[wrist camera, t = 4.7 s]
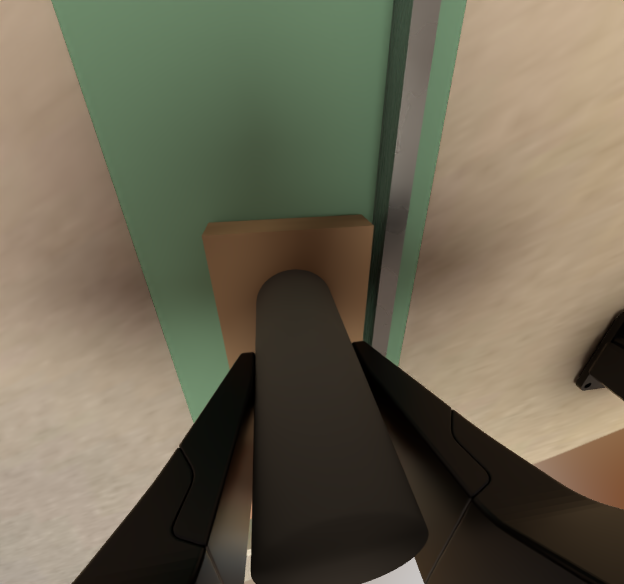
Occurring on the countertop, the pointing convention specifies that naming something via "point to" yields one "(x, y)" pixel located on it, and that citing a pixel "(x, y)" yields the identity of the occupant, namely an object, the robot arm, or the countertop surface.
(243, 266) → the striker sled
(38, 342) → the countertop surface
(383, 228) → the guide rail
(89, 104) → the mat
